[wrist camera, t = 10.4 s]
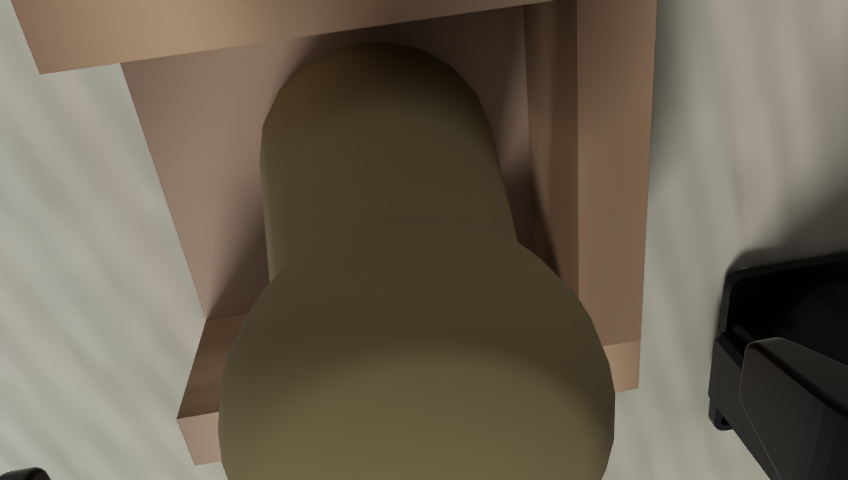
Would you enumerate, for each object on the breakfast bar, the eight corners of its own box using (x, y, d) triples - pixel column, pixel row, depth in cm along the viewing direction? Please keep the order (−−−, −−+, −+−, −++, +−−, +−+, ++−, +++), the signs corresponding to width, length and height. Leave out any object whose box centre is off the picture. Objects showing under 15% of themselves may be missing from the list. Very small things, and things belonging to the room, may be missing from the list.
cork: (234, 230, 18) (110, 647, 8) (295, 4, 15) (223, 208, 5) (445, 284, 19) (556, 688, 9) (530, 87, 17) (799, 360, 7)
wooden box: (573, -132, 15) (663, -142, 11) (576, 300, 21) (637, 403, 17) (89, -68, 15) (-11, -52, 10) (228, 358, 20) (200, 480, 16)
